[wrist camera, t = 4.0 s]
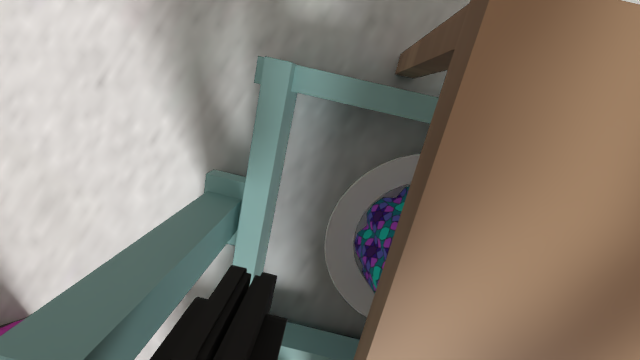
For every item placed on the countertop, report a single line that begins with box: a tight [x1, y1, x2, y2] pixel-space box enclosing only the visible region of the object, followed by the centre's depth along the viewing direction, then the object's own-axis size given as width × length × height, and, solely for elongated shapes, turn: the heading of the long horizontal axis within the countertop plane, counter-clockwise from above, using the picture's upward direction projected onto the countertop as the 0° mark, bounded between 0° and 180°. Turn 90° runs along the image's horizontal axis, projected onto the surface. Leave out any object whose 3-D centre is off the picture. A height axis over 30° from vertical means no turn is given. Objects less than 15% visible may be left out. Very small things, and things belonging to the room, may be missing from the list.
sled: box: [0, 56, 439, 360], centre depth 12 cm, size 21×17×12 cm
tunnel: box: [353, 0, 640, 360], centre depth 14 cm, size 10×21×10 cm, turn 167°
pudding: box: [324, 154, 420, 318], centre depth 16 cm, size 12×12×5 cm
